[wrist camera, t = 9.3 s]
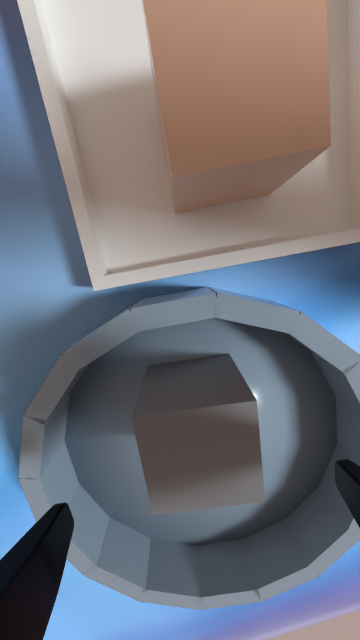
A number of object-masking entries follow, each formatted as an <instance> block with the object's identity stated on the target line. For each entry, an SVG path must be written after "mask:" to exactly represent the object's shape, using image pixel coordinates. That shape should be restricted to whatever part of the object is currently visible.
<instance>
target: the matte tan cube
mask: <svg viewBox="0 0 360 640" xmlns="http://www.w3.org/2000/svg"><path fill="white" fill-rule="evenodd" d="M142 4H143V11H144V19H145V26H146V33H147V41H148V48H149V55H150V63H151V70H152V77H153V85H154V92H155V99H156V106H157V112H158V118H159V123H160V129H161V135H162V141H163V147H164V152H165V158H166V164H167V170H168V176H169V181H170V187H171V193H172V199H173V205H174V211H175V214H176V213H181V212H186V211H191V210H196V209H201V208H207V207H212V206H217V205H222V204H227V203H232V202H238V201H243V200H248V199H253V198H258V197H263V196H269V195H270V194H271V193H273V192H274V191H275V190H276V189H278V188H279V187H280V186H281V185H283V184H284V183H285V182H286V181H288V180H289V179H290V178H291V177H293V176H294V175H295V174H296V173H298V172H299V171H300V170H301V169H303V168H304V167H305V166H306V165H308V164H309V163H310V162H311V161H313V160H314V159H315V158H316V157H318V156H319V155H320V154H321V153H323V152H324V151H325V150H326V149H328V148H329V147H330V146H331V124H330V90H329V55H328V21H327V0H142Z"/></svg>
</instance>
